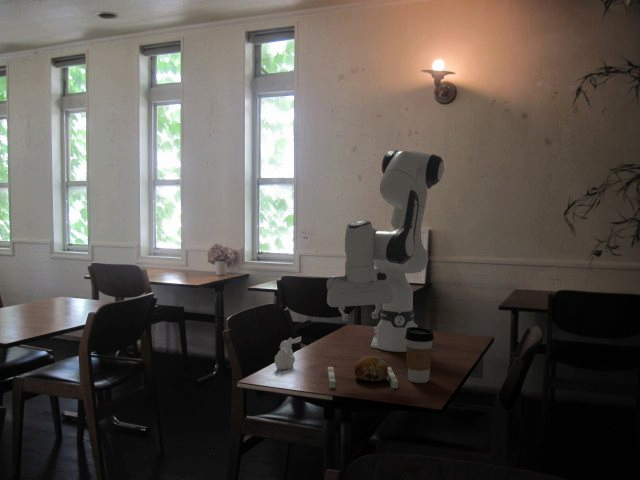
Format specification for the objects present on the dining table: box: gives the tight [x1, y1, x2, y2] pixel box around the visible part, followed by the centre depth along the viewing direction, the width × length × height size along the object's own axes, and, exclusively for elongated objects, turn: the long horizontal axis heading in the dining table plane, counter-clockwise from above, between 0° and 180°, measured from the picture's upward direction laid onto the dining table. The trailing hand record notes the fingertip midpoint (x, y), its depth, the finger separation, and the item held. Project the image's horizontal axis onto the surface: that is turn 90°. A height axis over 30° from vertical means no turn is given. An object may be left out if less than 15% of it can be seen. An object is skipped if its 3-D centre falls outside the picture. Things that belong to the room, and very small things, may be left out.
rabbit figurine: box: [274, 336, 302, 371], centre depth 181 cm, size 12×8×10 cm, turn 168°
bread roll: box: [354, 355, 389, 382], centre depth 169 cm, size 10×10×8 cm
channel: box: [327, 366, 399, 389], centre depth 168 cm, size 14×19×2 cm
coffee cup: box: [405, 326, 435, 384], centre depth 169 cm, size 8×8×15 cm
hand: (360, 319), depth 176 cm, fingers open, 8 cm apart
